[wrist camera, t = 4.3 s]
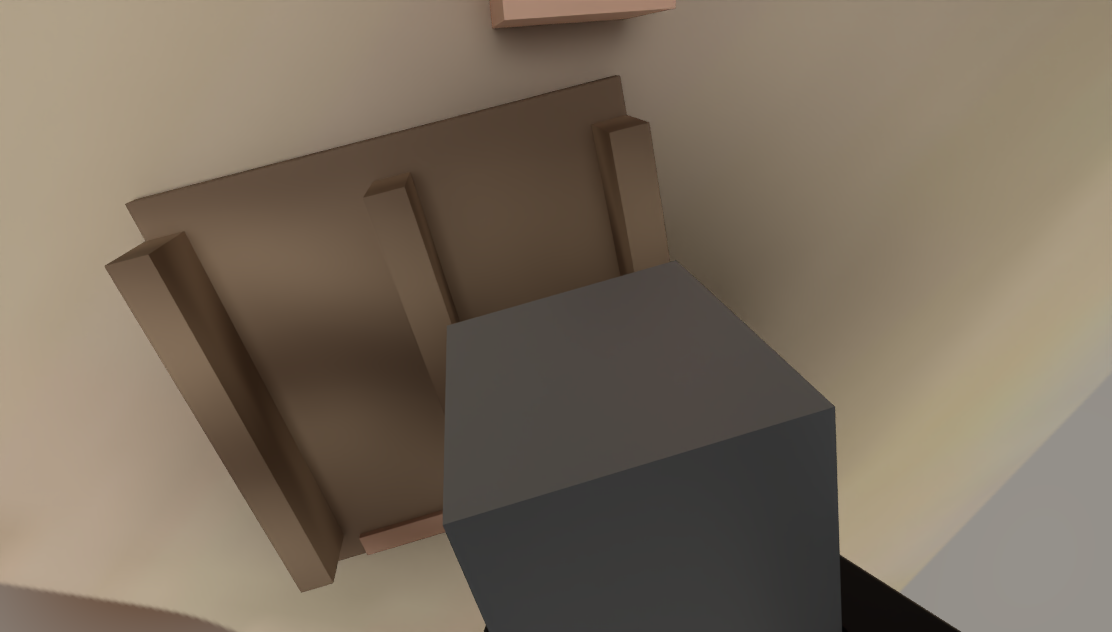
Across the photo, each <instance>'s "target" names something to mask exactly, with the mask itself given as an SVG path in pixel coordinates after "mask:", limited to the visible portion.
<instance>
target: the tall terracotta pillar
mask: <svg viewBox="0 0 1112 632" xmlns="http://www.w3.org/2000/svg"><path fill="white" fill-rule="evenodd" d="M489 1H490V11H491V21H492V28H506V27H520V26H534V25H548V24H562V23H576V22H590V21H604V20H619V19H628V18H632V17H637V16H642V15H646V14H651V13H656V12H660V11H665V10H669V9H674V8H675V5H676V0H489Z"/></svg>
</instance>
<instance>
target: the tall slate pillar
mask: <svg viewBox="0 0 1112 632" xmlns="http://www.w3.org/2000/svg"><path fill="white" fill-rule="evenodd" d="M443 527H444V529H445V532H446V534H447V536H448V539H449V541H450V543H451V546H452V548H453V550H454V552H455V555H456V557H457V559H458V562H459V564H460V566H461V569H462V571H463V573H464V575H465V578H466V580H467V582H468V585H469V587H470V589H471V592H472V594H473V596H474V598H475V601H476V603H477V605H478V608H479V610H480V612H481V615H482V617H483V619H484V621H485V624H486V626H487V628H488V631H489V632H842V616H841V584H840V552H839V520H838V488H837V456H836V424H835V406H834V405H833V404H832V403H830V402H829V401H828V400H827V399H826V398H825V397H824V396H823V395H822V394H821V393H820V392H818V391H817V390H816V389H815V388H814V387H813V386H812V385H811V384H810V383H809V382H808V381H807V380H805V379H804V378H803V377H802V376H801V375H800V374H799V373H798V372H797V371H796V370H795V369H794V368H792V367H791V366H790V365H789V364H788V363H787V362H786V361H785V360H784V359H783V358H782V357H780V356H779V355H778V354H777V353H776V352H775V351H774V350H773V349H772V348H771V347H770V346H769V345H767V344H766V343H765V342H764V341H763V340H762V339H761V338H760V337H759V336H758V335H757V334H755V333H754V332H753V331H752V330H751V329H750V328H749V327H748V326H747V325H746V324H745V323H744V322H742V321H741V320H740V319H739V318H738V317H737V316H736V315H735V314H734V313H733V312H732V311H730V310H729V309H728V308H727V307H726V306H725V305H724V304H723V303H722V302H721V301H720V300H719V299H717V298H716V297H715V296H714V295H713V294H712V293H711V292H710V291H709V290H708V289H707V288H705V287H704V286H703V285H702V284H701V283H700V282H699V281H698V280H697V279H696V278H695V277H694V276H692V275H691V274H690V273H689V272H688V271H687V270H686V269H685V268H684V267H683V266H682V265H680V264H679V263H678V262H677V261H676V260H675V261H672V262H668V263H665V264H661V265H658V266H654V267H651V268H647V269H644V270H640V271H637V272H633V273H630V274H626V275H623V276H619V277H616V278H612V279H609V280H605V281H602V282H598V283H595V284H591V285H588V286H584V287H581V288H577V289H574V290H570V291H567V292H563V293H560V294H556V295H553V296H549V297H546V298H542V299H539V300H535V301H532V302H528V303H525V304H521V305H518V306H514V307H511V308H507V309H504V310H500V311H497V312H493V313H490V314H486V315H483V316H479V317H475V318H472V319H468V320H465V321H461V322H458V323H454V324H451V325H447V342H446V388H445V435H444V481H443Z"/></svg>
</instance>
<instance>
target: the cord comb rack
mask: <svg viewBox="0 0 1112 632" xmlns="http://www.w3.org/2000/svg"><path fill="white" fill-rule="evenodd" d="M125 205H126V207H127V209H128V210H129V212H130V214H131V216H132V218H133V219H134V221H135V223H136V225H137V227H138V228H139V230H140V232H141V234H142V235H143V237H144V239H145V242H144V243H142V244H140V245H139V246H137V247H135V248H134V249H132V250H130V251H129V252H127V253H125V254H124V255H122V256H120V257H119V258H117V259H115V260H114V261H112V262H110V263H109V264H107V265H105V268H106V270H107V271H108V273H109V275H110V276H111V278H112V280H113V281H114V283H115V285H116V286H117V288H118V290H119V291H120V293H121V295H122V296H123V298H124V300H125V301H126V303H127V305H128V306H129V308H130V310H131V311H132V313H133V315H134V316H135V318H136V319H137V321H138V323H139V324H140V326H141V328H142V329H143V331H144V333H145V334H146V336H147V338H148V339H149V341H150V343H151V344H152V346H153V348H154V349H155V351H156V353H157V354H158V356H159V358H160V359H161V361H162V363H163V364H164V366H165V368H166V369H167V371H168V373H169V374H170V376H171V377H172V379H173V381H174V382H175V384H176V386H177V387H178V389H179V391H180V392H181V394H182V396H183V397H184V399H185V401H186V402H187V404H188V406H189V407H190V409H191V411H192V412H193V414H194V416H195V417H196V419H197V421H198V422H199V424H200V426H201V427H202V429H203V430H204V432H205V434H206V435H207V437H208V439H209V440H210V442H211V444H212V445H213V447H214V449H215V450H216V452H217V454H218V455H219V457H220V459H221V460H222V462H223V464H224V465H225V467H226V469H227V470H228V472H229V474H230V475H231V477H232V479H233V480H234V482H235V484H236V485H237V487H238V488H239V490H240V492H241V493H242V495H243V497H244V498H245V500H246V502H247V503H248V505H249V507H250V508H251V510H252V512H253V513H254V515H255V517H256V518H257V520H258V522H259V523H260V525H261V527H262V528H263V530H264V532H265V533H266V535H267V537H268V538H269V540H270V542H271V543H272V545H273V546H274V548H275V550H276V551H277V553H278V555H279V556H280V558H281V560H282V561H283V563H284V565H285V566H286V568H287V570H288V571H289V573H290V575H291V576H292V578H293V580H294V581H295V583H296V585H297V586H298V588H299V590H300V591H301V593H302V592H305V591H308V590H312V589H315V588H318V587H322V586H325V585H328V584H332V583H333V582H334V578H335V573H336V569H337V564H338V561H340V560H343V559H346V558H350V557H353V556H356V555H360V554H363V553H367V555H370V554H373V553H377V552H380V551H384V550H387V549H390V548H394V547H397V546H400V545H404V544H407V543H410V542H414V541H417V540H421V539H424V538H427V537H431V536H434V535H437V534H441V533H444V532H445V529H444V527H443V481H444V435H445V388H446V342H447V325H451V324H454V323H458V322H461V321H465V320H468V319H472V318H475V317H479V316H483V315H486V314H490V313H493V312H497V311H500V310H504V309H507V308H511V307H514V306H518V305H521V304H525V303H528V302H532V301H535V300H539V299H542V298H546V297H549V296H553V295H556V294H560V293H563V292H567V291H570V290H574V289H577V288H581V287H584V286H588V285H591V284H595V283H598V282H602V281H605V280H609V279H612V278H616V277H619V276H623V275H626V274H630V273H633V272H637V271H640V270H644V269H647V268H651V267H654V266H658V265H661V264H665V263H668V262H670V257H669V250H668V244H667V237H666V230H665V224H664V217H663V210H662V204H661V197H660V191H659V184H658V177H657V171H656V164H655V158H654V151H653V144H652V138H651V131H650V124H649V122H646V121H643V120H640V119H637V118H634V117H631V116H628V115H627V114H626V108H625V102H624V96H623V90H622V84H621V78H620V76H616V75H615V76H611V77H607V78H604V79H600V80H596V81H592V82H588V83H584V84H580V85H576V86H573V87H569V88H565V89H561V90H557V91H553V92H549V93H545V94H542V95H538V96H534V97H530V98H526V99H522V100H518V101H515V102H511V103H507V104H503V105H499V106H495V107H491V108H487V109H484V110H480V111H476V112H472V113H468V114H464V115H460V116H457V117H453V118H449V119H445V120H441V121H437V122H433V123H429V124H426V125H422V126H418V127H414V128H410V129H406V130H402V131H399V132H395V133H391V134H387V135H383V136H379V137H375V138H371V139H368V140H364V141H360V142H356V143H352V144H348V145H344V146H341V147H337V148H333V149H329V150H325V151H321V152H317V153H313V154H310V155H306V156H302V157H298V158H294V159H290V160H286V161H283V162H279V163H275V164H271V165H267V166H263V167H259V168H255V169H252V170H248V171H244V172H240V173H236V174H232V175H228V176H224V177H221V178H217V179H213V180H209V181H205V182H201V183H197V184H194V185H190V186H186V187H182V188H178V189H174V190H170V191H166V192H163V193H159V194H155V195H151V196H147V197H143V198H139V199H136V200H133V201H131V202H129V203H126V204H125Z"/></svg>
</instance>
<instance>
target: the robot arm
mask: <svg viewBox="0 0 1112 632" xmlns="http://www.w3.org/2000/svg"><path fill="white" fill-rule="evenodd" d="M840 584H841V616H842V632H961V631H959V630H957V629H956V628H954V627H953V626H951V625H950V624H948V623H946V622H945V621H943V620H942V619H940V618H939V617H937V616H936V615H934V614H932V613H930V612H929V611H928V610H926V609H925V608H923V607H921V606H920V605H918V604H917V603H915V602H913V601H912V600H910V599H909V598H907V597H906V596H904V595H902V594H901V593H899V592H898V591H896V590H895V589H893V588H891V587H890V586H888V585H887V584H885V583H884V582H882V581H880V580H879V579H877V578H876V577H874V576H873V575H871V574H869V573H868V572H866V571H865V570H863V569H862V568H860V567H858V566H857V565H855V564H854V563H852V562H851V561H849V560H847V559H846V558H844V557H843V556H841V555H840ZM484 632H489V631H488V628H487V626H485V629H484Z"/></svg>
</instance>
